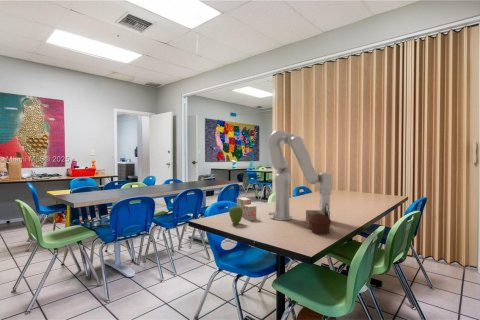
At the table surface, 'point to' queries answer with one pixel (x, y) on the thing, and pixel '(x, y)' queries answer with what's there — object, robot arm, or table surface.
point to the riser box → (309, 214)
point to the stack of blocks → (247, 208)
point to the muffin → (320, 224)
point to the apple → (236, 214)
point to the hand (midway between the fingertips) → (324, 219)
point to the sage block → (328, 212)
